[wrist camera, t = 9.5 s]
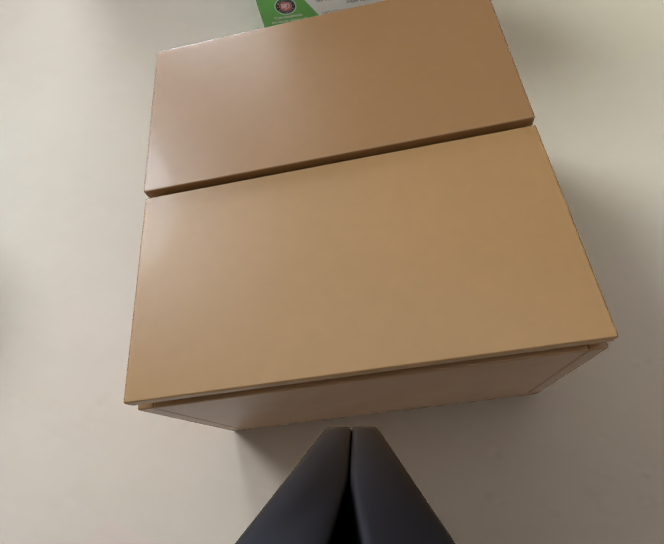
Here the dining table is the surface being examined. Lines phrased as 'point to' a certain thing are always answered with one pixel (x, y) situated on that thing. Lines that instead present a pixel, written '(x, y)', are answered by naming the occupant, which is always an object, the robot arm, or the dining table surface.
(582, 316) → the flap
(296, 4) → the ink box
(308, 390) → the carton
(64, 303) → the dining table surface
